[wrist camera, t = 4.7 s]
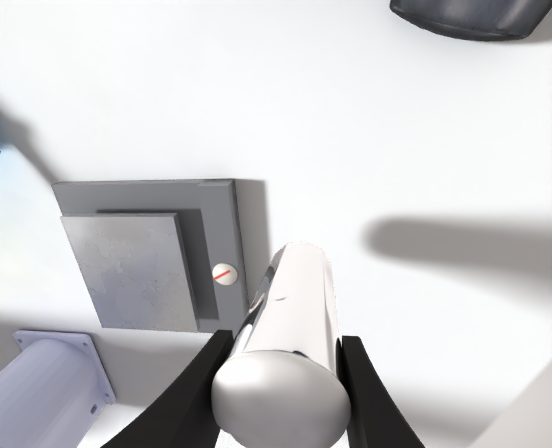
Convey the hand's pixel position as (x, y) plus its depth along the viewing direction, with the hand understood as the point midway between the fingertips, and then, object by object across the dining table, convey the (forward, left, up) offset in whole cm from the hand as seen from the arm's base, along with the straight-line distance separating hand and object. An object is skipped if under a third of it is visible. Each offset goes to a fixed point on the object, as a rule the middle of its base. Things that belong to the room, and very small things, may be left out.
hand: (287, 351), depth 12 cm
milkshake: (0, 0, -6) cm, 6 cm away
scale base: (-2, +11, -10) cm, 15 cm away
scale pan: (-2, +12, -8) cm, 14 cm away
